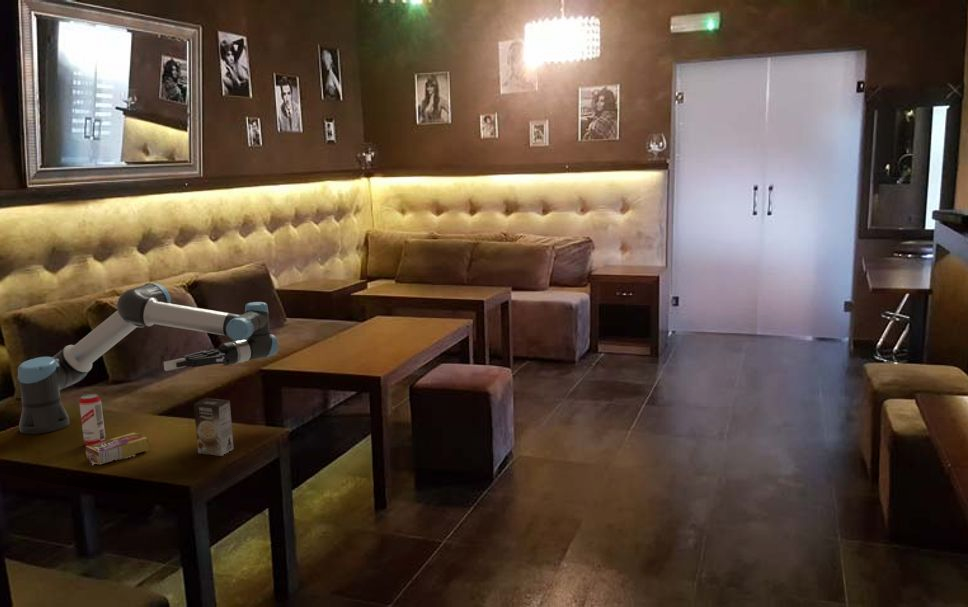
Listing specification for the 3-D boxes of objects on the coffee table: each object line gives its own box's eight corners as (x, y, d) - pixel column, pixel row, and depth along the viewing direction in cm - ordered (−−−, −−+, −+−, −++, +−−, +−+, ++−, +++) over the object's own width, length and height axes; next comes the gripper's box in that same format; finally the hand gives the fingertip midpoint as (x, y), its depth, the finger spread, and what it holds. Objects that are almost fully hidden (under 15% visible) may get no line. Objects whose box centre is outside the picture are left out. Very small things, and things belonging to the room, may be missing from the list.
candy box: (135, 444, 252) (86, 458, 241) (134, 431, 252) (84, 444, 240) (148, 451, 247) (99, 465, 235) (147, 437, 246) (97, 451, 235)
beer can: (97, 447, 251) (91, 399, 248) (80, 446, 253) (74, 398, 250) (110, 440, 257) (104, 393, 254) (93, 440, 259) (87, 392, 256)
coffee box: (196, 453, 244) (192, 403, 241) (210, 446, 250) (205, 397, 247) (222, 456, 241) (217, 405, 238) (235, 449, 247) (230, 399, 244)
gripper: (244, 366, 264) (174, 381, 248) (225, 360, 273) (157, 374, 257) (242, 344, 263) (172, 358, 247) (223, 338, 272) (155, 351, 256)
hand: (165, 366), depth 252 cm, fingers closed
